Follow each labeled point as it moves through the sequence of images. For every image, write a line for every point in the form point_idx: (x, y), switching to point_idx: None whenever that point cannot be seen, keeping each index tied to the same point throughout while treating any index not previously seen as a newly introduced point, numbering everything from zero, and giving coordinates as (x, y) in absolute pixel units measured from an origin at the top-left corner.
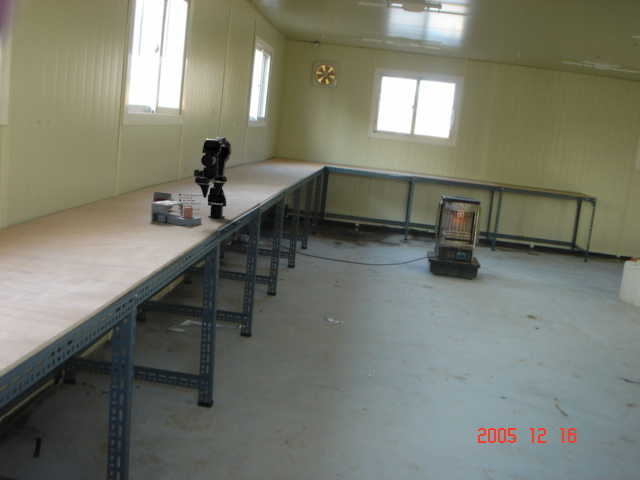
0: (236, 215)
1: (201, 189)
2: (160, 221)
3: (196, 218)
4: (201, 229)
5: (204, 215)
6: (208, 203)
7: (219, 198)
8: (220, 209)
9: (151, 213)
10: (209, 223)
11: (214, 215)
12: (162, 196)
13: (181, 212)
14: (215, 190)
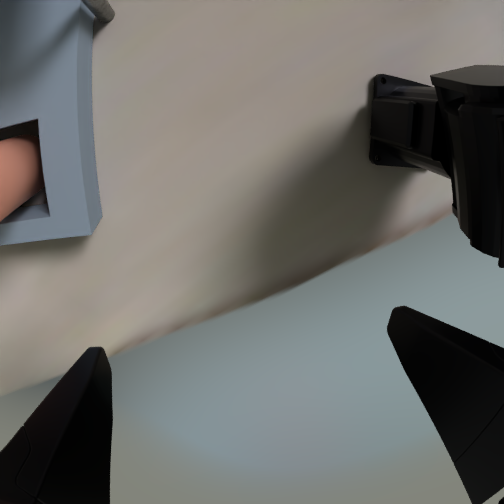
0: None
1: (4, 452)
2: None
3: (35, 239)
4: (5, 332)
5: (409, 26)
6: (440, 82)
7: (477, 231)
8: (438, 173)
9: None
10: (166, 240)
11: (377, 138)
12: None
13: (83, 1)
14: (451, 360)
